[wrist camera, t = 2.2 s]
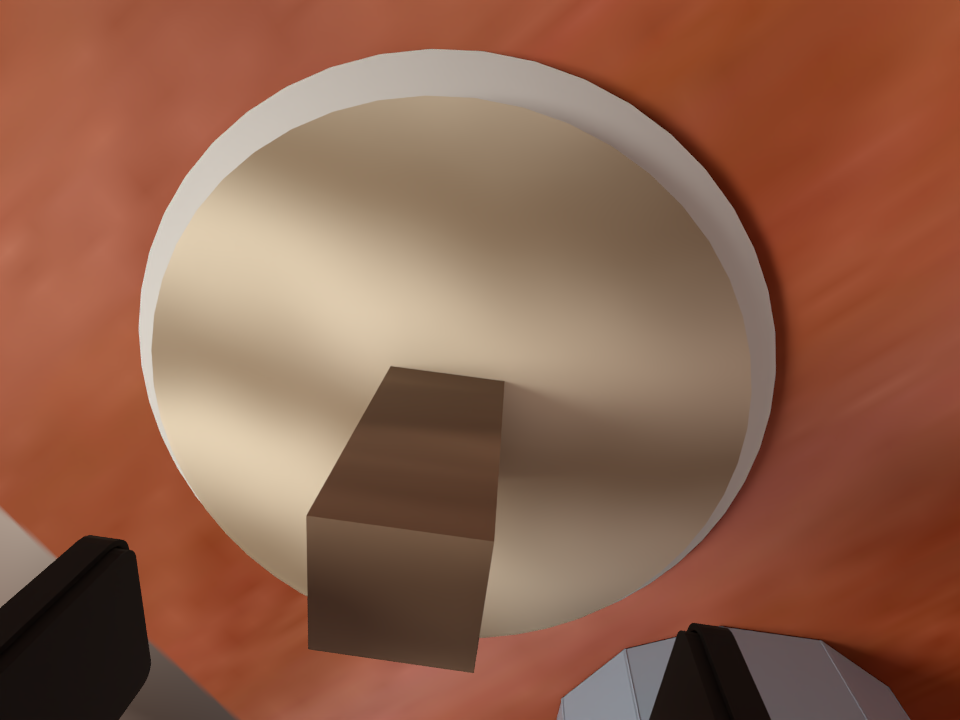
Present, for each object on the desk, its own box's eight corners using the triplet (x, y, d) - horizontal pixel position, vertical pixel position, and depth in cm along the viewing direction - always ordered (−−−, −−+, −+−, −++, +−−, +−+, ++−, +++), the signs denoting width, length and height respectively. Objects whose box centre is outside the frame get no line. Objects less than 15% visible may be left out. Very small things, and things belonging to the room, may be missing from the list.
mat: (107, 9, 13) (89, 4, 12) (872, 101, 12) (889, 100, 12) (184, 582, 20) (175, 595, 19) (674, 651, 19) (678, 666, 19)
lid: (138, 59, 13) (-265, -22, 6) (826, 143, 12) (1167, 151, 6) (199, 577, 19) (32, 809, 12) (657, 642, 18) (730, 914, 12)
